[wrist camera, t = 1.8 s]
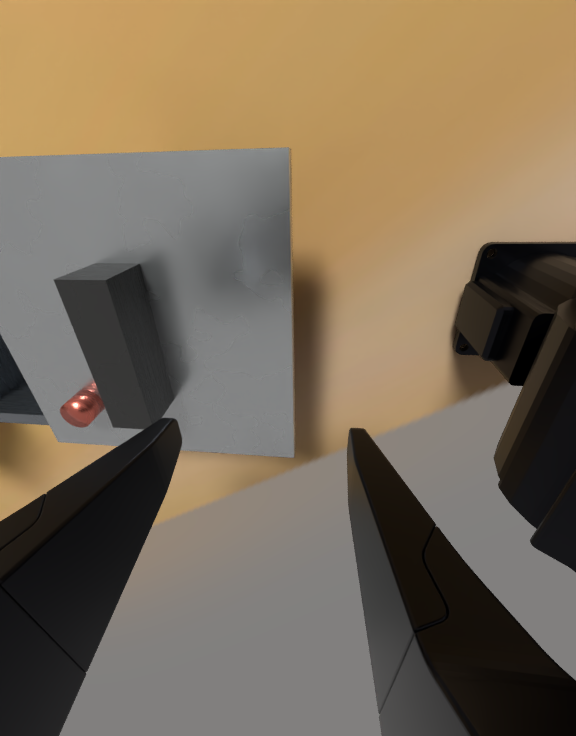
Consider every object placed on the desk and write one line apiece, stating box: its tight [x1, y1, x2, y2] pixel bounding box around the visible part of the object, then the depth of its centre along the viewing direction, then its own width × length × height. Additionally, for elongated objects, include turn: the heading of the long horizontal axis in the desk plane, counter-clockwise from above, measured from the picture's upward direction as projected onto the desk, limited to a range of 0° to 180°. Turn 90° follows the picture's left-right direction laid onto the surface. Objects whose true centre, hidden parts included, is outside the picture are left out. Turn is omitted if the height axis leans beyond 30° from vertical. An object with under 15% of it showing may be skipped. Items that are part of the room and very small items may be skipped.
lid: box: [0, 147, 295, 458], centre depth 15 cm, size 15×15×3 cm
